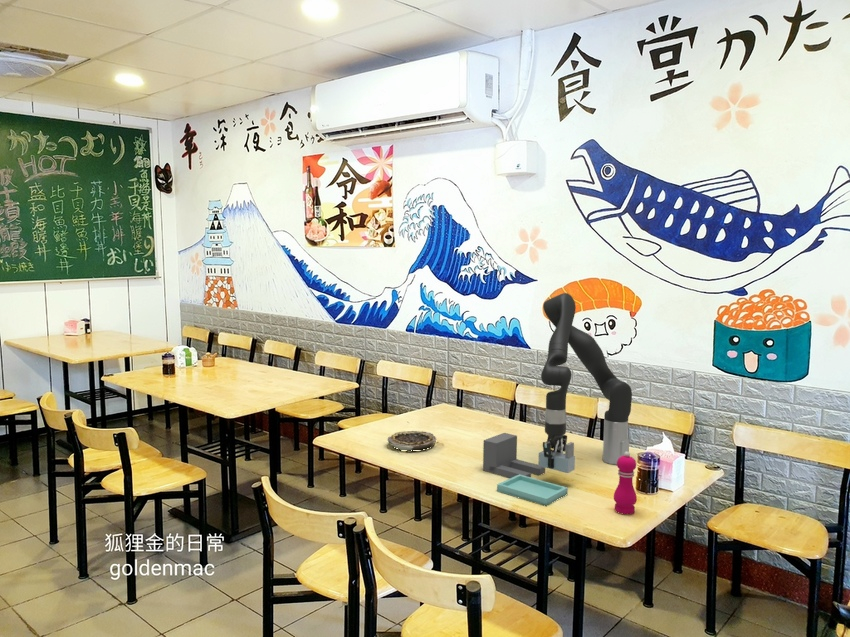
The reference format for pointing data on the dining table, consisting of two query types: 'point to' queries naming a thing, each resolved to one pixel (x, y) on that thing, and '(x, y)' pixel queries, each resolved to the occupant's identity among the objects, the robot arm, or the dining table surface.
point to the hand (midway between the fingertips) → (554, 465)
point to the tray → (532, 489)
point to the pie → (412, 440)
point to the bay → (506, 457)
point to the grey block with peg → (560, 459)
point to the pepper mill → (625, 485)
